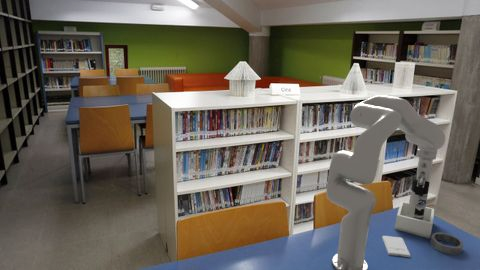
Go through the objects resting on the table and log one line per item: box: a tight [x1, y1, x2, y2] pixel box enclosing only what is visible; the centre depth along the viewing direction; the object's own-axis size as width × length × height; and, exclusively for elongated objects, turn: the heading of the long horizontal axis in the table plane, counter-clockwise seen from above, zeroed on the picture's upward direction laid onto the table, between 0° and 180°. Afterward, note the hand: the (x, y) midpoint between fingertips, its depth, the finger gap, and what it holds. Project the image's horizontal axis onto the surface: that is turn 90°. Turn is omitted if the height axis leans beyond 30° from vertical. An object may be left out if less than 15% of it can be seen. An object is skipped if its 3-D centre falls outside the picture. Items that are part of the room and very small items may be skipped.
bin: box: [394, 200, 435, 240], centre depth 160 cm, size 16×14×7 cm
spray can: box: [407, 177, 431, 220], centre depth 157 cm, size 7×7×20 cm
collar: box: [430, 232, 464, 256], centre depth 145 cm, size 11×11×3 cm
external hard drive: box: [381, 235, 411, 258], centre depth 144 cm, size 2×8×12 cm
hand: (419, 191), depth 156 cm, fingers closed on spray can, 6 cm apart
